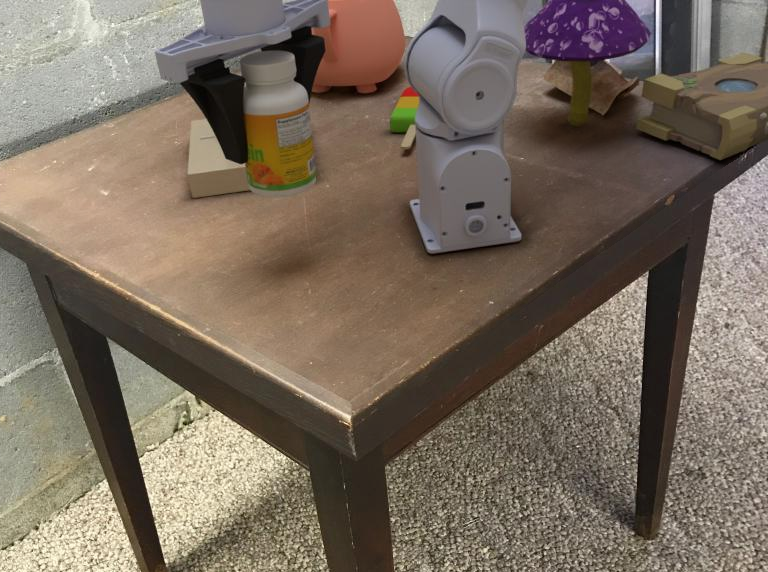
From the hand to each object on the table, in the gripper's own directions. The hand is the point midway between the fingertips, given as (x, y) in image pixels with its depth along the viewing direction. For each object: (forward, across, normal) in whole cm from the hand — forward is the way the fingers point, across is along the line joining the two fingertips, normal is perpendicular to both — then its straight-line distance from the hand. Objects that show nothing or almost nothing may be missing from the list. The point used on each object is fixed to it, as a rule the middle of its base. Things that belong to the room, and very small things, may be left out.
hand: (266, 146), depth 68 cm
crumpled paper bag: (+6, +41, -1) cm, 41 cm away
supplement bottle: (+3, 0, -2) cm, 3 cm away
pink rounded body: (+10, +34, +27) cm, 45 cm away
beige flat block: (+10, +11, +18) cm, 24 cm away
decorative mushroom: (+10, +36, -5) cm, 38 cm away
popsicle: (+10, +27, +9) cm, 31 cm away
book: (+10, +44, -18) cm, 48 cm away
